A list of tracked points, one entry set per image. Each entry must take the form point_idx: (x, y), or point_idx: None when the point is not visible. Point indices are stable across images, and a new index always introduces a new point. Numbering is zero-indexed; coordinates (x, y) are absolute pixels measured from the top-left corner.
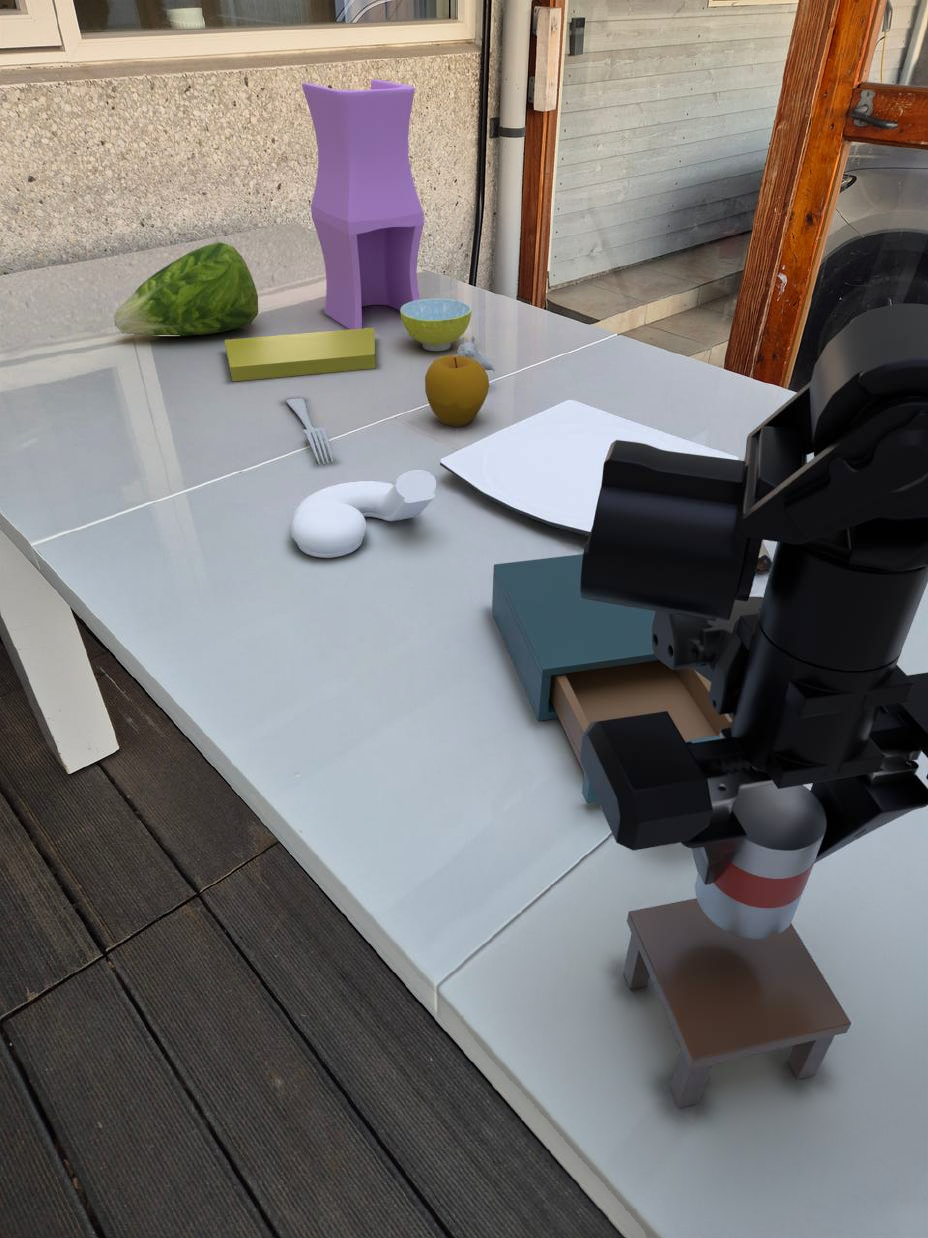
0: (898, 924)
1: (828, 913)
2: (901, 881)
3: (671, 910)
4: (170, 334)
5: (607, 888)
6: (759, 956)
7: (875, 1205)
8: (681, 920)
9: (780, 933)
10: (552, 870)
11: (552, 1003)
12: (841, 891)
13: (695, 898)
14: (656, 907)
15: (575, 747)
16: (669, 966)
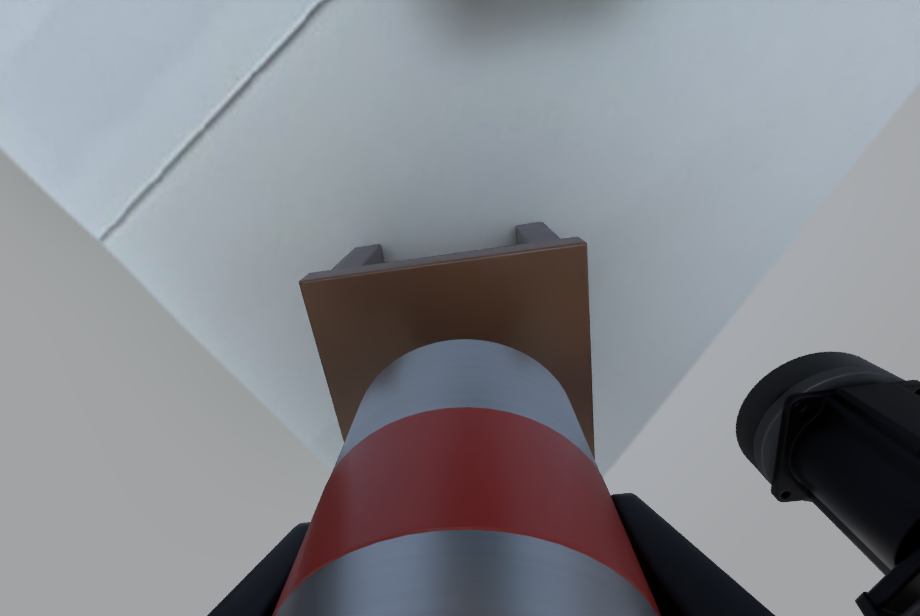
0: (792, 201)
1: (697, 172)
2: (860, 118)
3: (378, 287)
4: None
5: (351, 90)
6: None
7: None
8: (393, 307)
9: (560, 343)
10: (255, 38)
11: (255, 282)
12: (745, 130)
13: (431, 264)
14: (352, 277)
15: None
16: (353, 385)
